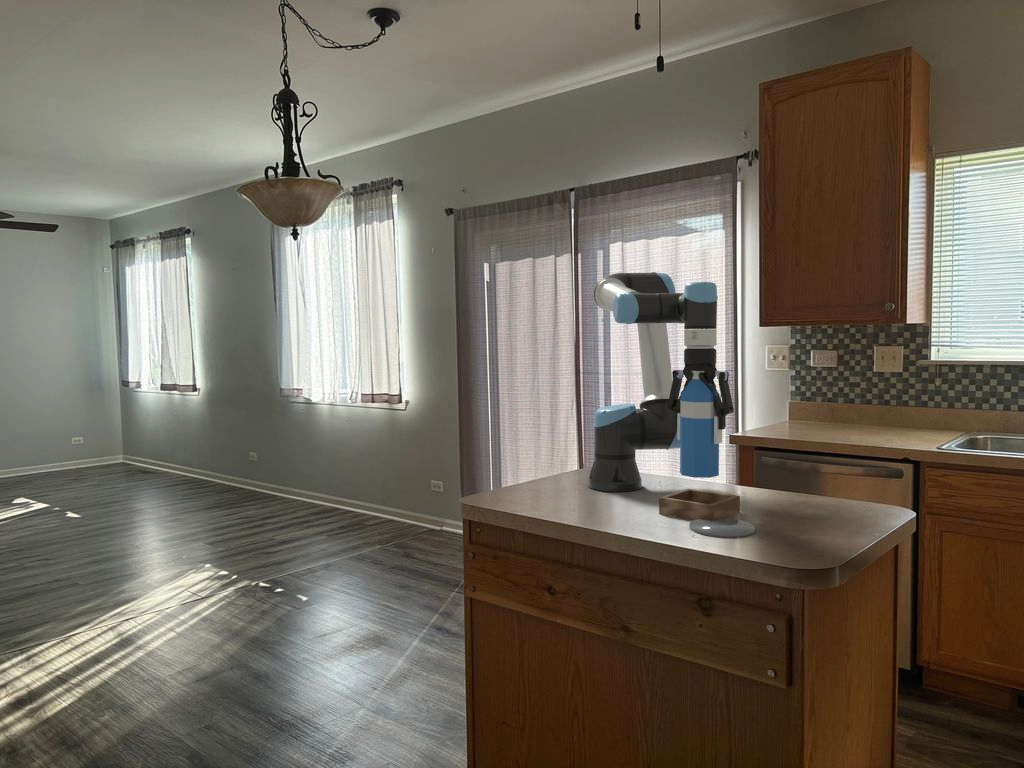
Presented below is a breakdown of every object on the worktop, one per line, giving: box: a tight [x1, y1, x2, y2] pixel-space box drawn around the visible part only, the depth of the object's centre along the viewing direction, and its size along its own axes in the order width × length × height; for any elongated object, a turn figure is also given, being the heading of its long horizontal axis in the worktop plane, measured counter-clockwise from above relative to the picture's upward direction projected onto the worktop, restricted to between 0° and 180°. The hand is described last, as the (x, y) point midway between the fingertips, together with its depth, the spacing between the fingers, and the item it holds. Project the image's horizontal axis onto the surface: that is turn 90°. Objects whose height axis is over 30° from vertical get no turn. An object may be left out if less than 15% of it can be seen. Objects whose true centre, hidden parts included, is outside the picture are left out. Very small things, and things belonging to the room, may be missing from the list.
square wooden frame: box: [658, 488, 741, 521], centre depth 177 cm, size 14×14×4 cm
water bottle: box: [679, 371, 721, 479], centre depth 176 cm, size 9×9×25 cm
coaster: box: [688, 517, 756, 539], centre depth 162 cm, size 14×14×1 cm
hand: (699, 441), depth 176 cm, fingers closed on water bottle, 9 cm apart
